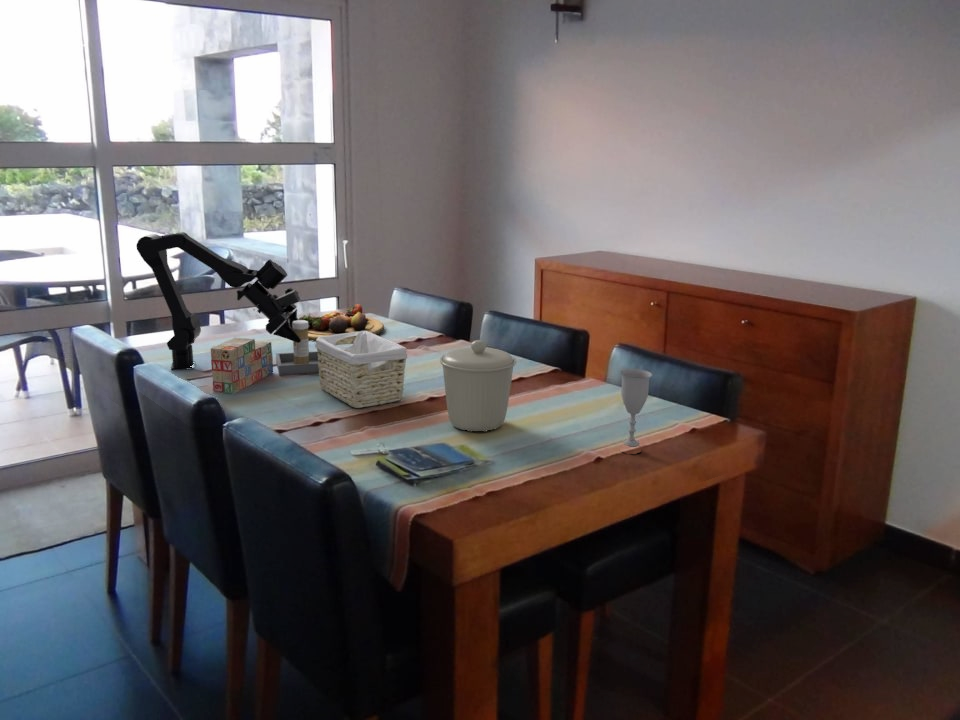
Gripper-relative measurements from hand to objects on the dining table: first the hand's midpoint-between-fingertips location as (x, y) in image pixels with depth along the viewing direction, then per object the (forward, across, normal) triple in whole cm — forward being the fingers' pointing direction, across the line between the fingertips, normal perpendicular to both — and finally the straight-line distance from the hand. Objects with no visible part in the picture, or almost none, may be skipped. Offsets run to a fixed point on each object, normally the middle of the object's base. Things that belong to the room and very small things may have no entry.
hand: (302, 337), depth 247 cm
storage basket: (+20, -25, -7) cm, 33 cm away
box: (+6, 0, +7) cm, 9 cm away
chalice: (+65, -65, -53) cm, 106 cm away
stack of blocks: (-3, -14, +17) cm, 22 cm away
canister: (+42, -49, -29) cm, 70 cm away
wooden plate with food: (+10, +48, +4) cm, 49 cm away
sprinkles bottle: (+6, 0, +7) cm, 9 cm away
